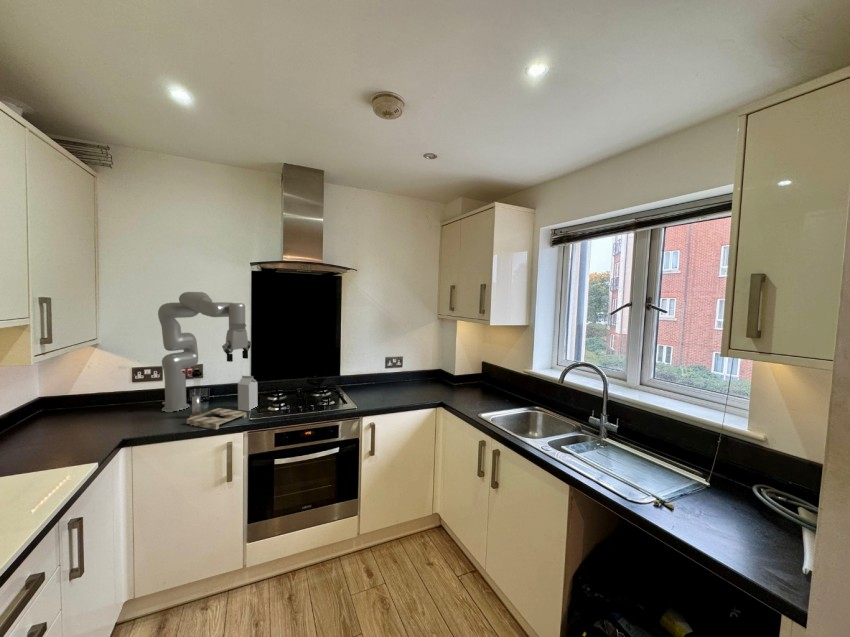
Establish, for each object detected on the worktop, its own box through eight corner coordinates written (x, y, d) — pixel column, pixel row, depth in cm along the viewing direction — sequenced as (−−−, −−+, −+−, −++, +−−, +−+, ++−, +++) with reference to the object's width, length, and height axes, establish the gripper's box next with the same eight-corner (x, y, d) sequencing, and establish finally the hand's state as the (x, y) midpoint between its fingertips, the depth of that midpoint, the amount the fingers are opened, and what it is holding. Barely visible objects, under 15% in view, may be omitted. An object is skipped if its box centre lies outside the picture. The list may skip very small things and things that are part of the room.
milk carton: (249, 411, 188) (248, 377, 187) (238, 410, 190) (237, 377, 189) (257, 407, 195) (257, 375, 194) (247, 406, 197) (246, 374, 196)
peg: (186, 418, 176) (186, 397, 175) (197, 414, 182) (197, 394, 181) (195, 420, 174) (194, 399, 173) (206, 416, 180) (205, 395, 179)
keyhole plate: (186, 424, 168) (186, 418, 168) (218, 413, 185) (218, 407, 185) (216, 429, 162) (216, 423, 162) (246, 417, 179) (246, 411, 179)
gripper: (245, 325, 183) (245, 356, 184) (216, 328, 167) (217, 362, 168) (256, 326, 181) (256, 357, 182) (228, 328, 165) (229, 363, 166)
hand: (237, 359), depth 175 cm, fingers open, 9 cm apart
